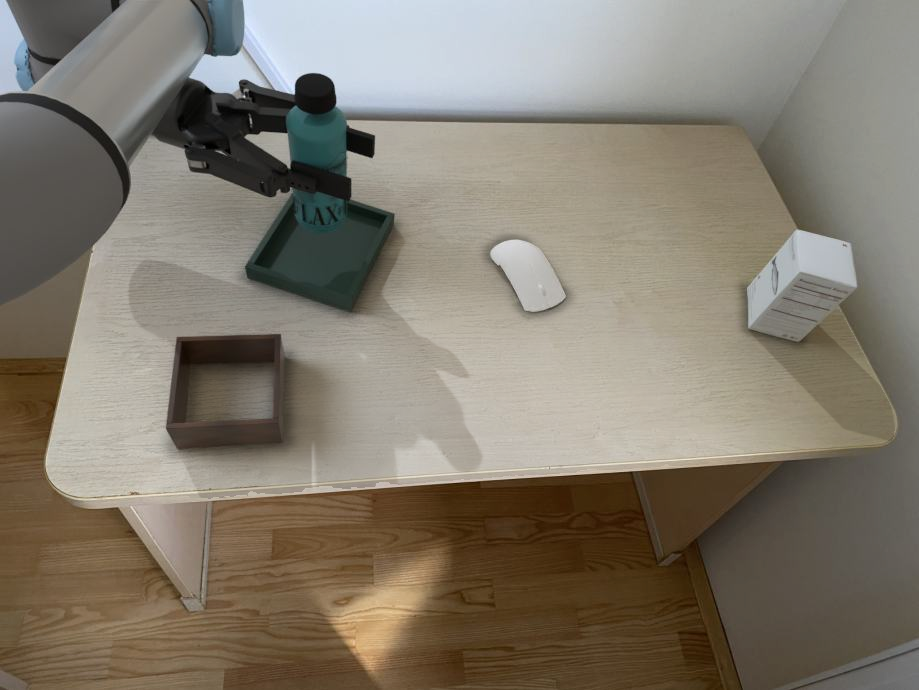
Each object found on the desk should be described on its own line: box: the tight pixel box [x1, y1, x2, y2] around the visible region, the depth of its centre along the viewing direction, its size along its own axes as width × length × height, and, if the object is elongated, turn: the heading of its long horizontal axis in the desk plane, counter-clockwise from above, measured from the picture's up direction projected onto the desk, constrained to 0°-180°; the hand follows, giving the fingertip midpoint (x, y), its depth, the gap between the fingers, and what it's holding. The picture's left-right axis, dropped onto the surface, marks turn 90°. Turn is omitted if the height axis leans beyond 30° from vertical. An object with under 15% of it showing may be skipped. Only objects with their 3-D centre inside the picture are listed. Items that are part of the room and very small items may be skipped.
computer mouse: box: [489, 239, 567, 313], centre depth 87 cm, size 7×12×2 cm, turn 28°
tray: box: [244, 192, 396, 313], centre depth 85 cm, size 16×14×2 cm
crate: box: [165, 333, 286, 450], centre depth 71 cm, size 11×11×5 cm
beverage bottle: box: [286, 72, 349, 233], centre depth 73 cm, size 6×7×20 cm
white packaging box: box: [746, 229, 858, 343], centre depth 85 cm, size 7×7×13 cm
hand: (361, 167), depth 72 cm, fingers closed on beverage bottle, 6 cm apart
